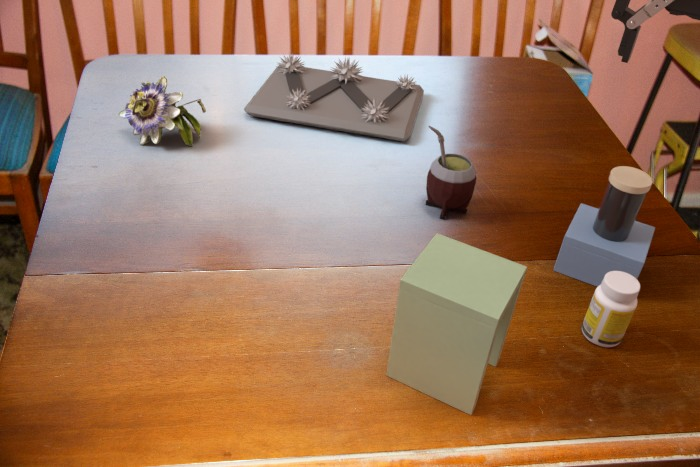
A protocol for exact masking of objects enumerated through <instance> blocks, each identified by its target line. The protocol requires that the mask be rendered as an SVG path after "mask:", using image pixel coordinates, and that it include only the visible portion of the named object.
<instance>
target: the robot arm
mask: <svg viewBox="0 0 700 467" xmlns="http://www.w3.org/2000/svg"><path fill="white" fill-rule="evenodd" d="M630 3H631V0H615V2H614V4H613V8H612V10H611V12H610V16H611V18H612V19H614V20H616V21H617V20H618V21H619V22H621V23H622V24H623V25H624V31H623V33H622V37H621V40H620V42H619V46H618V49H617V56H619V57H622V58H621V60H620V62H621V63H624V64H625V63H626V64H628V63H629V61H630V59H631V57H632V54H633V51H634V49H635V46H636V43H637V40H638V37H639V34H640V30H641V28H642V24H643V23H644V22H646V21H648V20H649V19H650V18H652V17H654V16H655V15H657V14H658V13H659V12H661V11H662V10H663V9H664V10H666V11H667V12H668V13H669V15H672V16H686V17H688V18H690V19H692V20H695V21H700V0H648V1H647V2H646V3H645V4H643V5H641V7H639V8H638V9H637V10H634V9H633V8H631V7H629V5H630Z"/></svg>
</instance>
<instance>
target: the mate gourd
mask: <svg viewBox="0 0 700 467" xmlns="http://www.w3.org/2000/svg"><path fill="white" fill-rule="evenodd" d="M428 128H429V129H430V130H431V131H432V132H434V133H435V135H436V136H437V141H438V143H439V149H440V155H439V156H437V157H436V158H435V159H434V160H432V163H431V165H430V167H429V170H428V172H427V175H426V186H425V188H426V197H427V199H426V200H425V205H426V206H429V207H433V208H437V209H441V211H440V215H439V219H440V220H443V221H445V220H446V217H447V215H448V212H449V211H450V212H453V213H454V212H455V213H459V214H464V215H466V214H467V212H468V206H469V204H470V203H471V200H472V198H473V195H474V192H475V188H476V184H477V170H476V168H475V165H474V164H473V162H472V160H470V159H469V157H466V156H464V155H462V154H458V153H446V149H445V137H444V135H443V134H442V133H441V132H440V130H439V129H437V128H435V127H433V126H431V125H428Z"/></svg>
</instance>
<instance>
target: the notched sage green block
mask: <svg viewBox="0 0 700 467" xmlns="http://www.w3.org/2000/svg"><path fill="white" fill-rule="evenodd" d="M527 269H528V266H527V265H524V264H521V263H518V262H516V261H513V260H510V259H508V258H505V257H502V256H500V255H497V254H494V253H492V252H489V251H486V250H483V249H480V248H478V247H475V246H473V245H470V244H467V243H465V242H462V241H459V240H456V239H454V238H451V237H448V236H445V235H442V234H440V233H435V235H433V237H432V239H431V240H430V241H429V242H428V243H427V245H426V246H425V247H424V249H423V250H422V251H421V252H420V254H419V255H418V256H417V257H416V259H415V260H414V261H413V263H412V264H411V266H409V268H408V269H407V271H405V273H404V274H403V275H402V277H401V278H400V280H399V285H398V294H397V300H396V308H395V313H394V321H393V325H392V326H393V327H392V334H391V340H390V347H389V354H388V359H387V366H386V372H385V375H386V377H388V378H390V379H392V380H394V381H397V382H399V383H400V384H403V385H406V386H408V387H410V388H411V389H413V390H416V391H418V392H420V393H423V394H425V395H427V396H429V397H431V398H432V399H435V400H438V401H439V402H441V403H444V404H446V405H448V406H450V407H452V408H454V409H457V410H459V411H461V412H463V413H464V414H467V415H469V416H472V415H473V413H474V411H475V410H476V407H477V403H478V400H479V396H480V393H481V389H482V386H483V382H484V379H485V376H486V372H487V367H488V365H490V366H492V367H495V368H496V367H497V366H498V364H499V361H500V359H501V356H502V352H503V348H504V345H505V342H506V338H507V335H508V331H509V329H510V326H511V322H512V319H513V316H514V313H515V309H516V306H517V302H518V300H519V296H520V292H521V289H522V286H523V283H524V280H525V275H526V272H527Z"/></svg>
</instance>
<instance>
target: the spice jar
mask: <svg viewBox="0 0 700 467" xmlns="http://www.w3.org/2000/svg"><path fill="white" fill-rule="evenodd" d="M652 185H653V179H652V177H651V176H650V175H649V174H648V173H647V172H645V171H643V170H642V169H639V168H637V167H633V166H626V165H619V166H614V167H613V168H612V169H611V170H610V171H609V174H608V182H607V185H606V189H605V191H604V194H603V197H602V199H601V202H600V205H599V207H598V209H599V210H598V213H597V216H596V218H595V221H594V224H593V230H594V232H595V233H596V234H597V235H598V236H600V237H602V238H604V239H606V240H609V241H614V242H621V241H625V240H626V239H627V238H628V237H629V234H630V232H631V230H632V227H633V225H634V222H635V221H637V220H636V219H637V217H638V214H639V213H640V211H641V208H642V205H643V203H644V200H645V198H646V196H647V193H648V192H649V191H651V188H652Z"/></svg>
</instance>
